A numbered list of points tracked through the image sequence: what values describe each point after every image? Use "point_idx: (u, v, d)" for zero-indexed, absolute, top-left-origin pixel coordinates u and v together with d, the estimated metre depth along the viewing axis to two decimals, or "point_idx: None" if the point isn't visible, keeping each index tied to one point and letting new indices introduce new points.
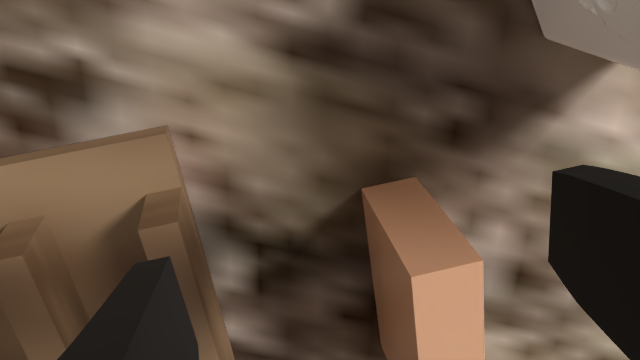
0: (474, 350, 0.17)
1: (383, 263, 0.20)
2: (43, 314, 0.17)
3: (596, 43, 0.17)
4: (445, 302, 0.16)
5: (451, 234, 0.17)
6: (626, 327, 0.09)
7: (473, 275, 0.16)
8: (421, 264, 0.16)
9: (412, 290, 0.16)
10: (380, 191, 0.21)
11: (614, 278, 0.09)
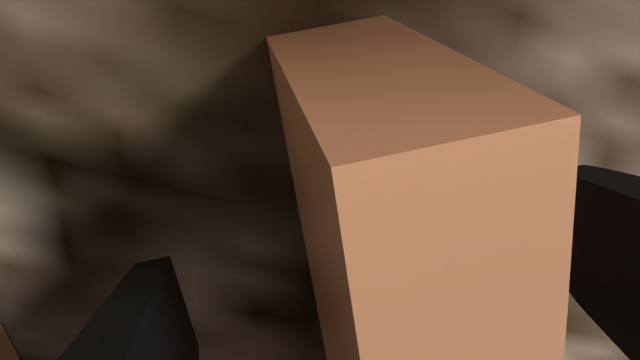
0: None
1: (302, 187, 0.08)
2: None
3: None
4: (449, 263, 0.05)
5: (467, 74, 0.06)
6: (626, 327, 0.09)
7: (545, 173, 0.05)
8: (371, 135, 0.05)
9: (338, 219, 0.05)
10: (304, 36, 0.09)
11: (614, 278, 0.09)
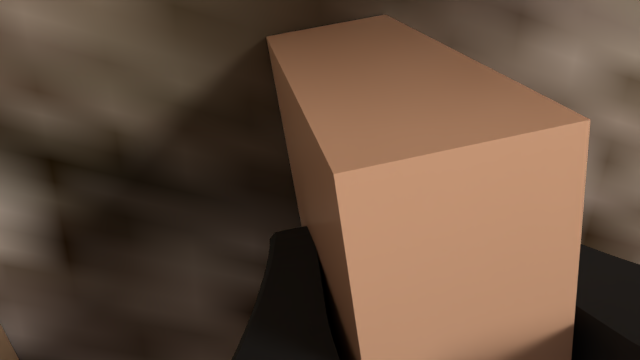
0: None
1: (303, 190, 0.08)
2: None
3: None
4: (456, 271, 0.05)
5: (472, 77, 0.06)
6: None
7: (552, 178, 0.05)
8: (376, 141, 0.05)
9: (340, 226, 0.05)
10: (305, 36, 0.09)
11: None
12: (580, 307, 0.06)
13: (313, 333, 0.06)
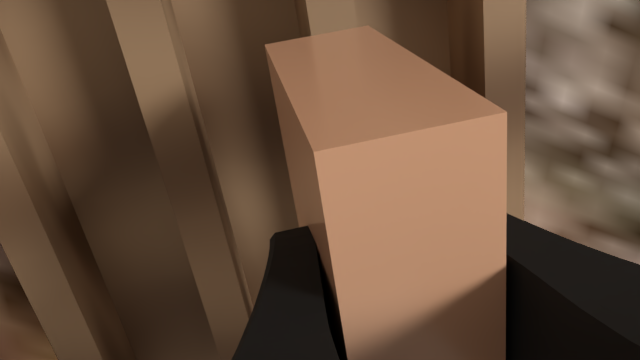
0: (482, 351, 0.08)
1: (296, 175, 0.10)
2: None
3: None
4: (408, 229, 0.06)
5: (427, 80, 0.07)
6: None
7: (481, 157, 0.06)
8: (346, 128, 0.06)
9: (320, 192, 0.06)
10: (298, 44, 0.11)
11: None
12: (580, 307, 0.06)
13: (312, 333, 0.06)
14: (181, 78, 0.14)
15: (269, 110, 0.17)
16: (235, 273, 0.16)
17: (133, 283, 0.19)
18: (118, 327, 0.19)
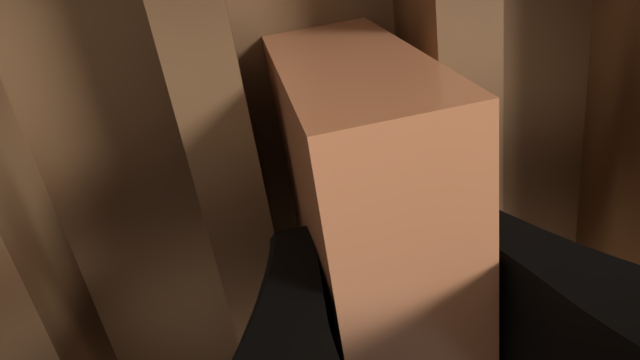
0: (476, 337, 0.08)
1: (292, 165, 0.10)
2: None
3: None
4: (402, 214, 0.07)
5: (422, 68, 0.08)
6: None
7: (473, 142, 0.06)
8: (341, 113, 0.06)
9: (313, 177, 0.06)
10: (294, 36, 0.11)
11: None
12: (580, 307, 0.06)
13: (313, 333, 0.06)
14: (247, 113, 0.09)
15: None
16: None
17: None
18: None
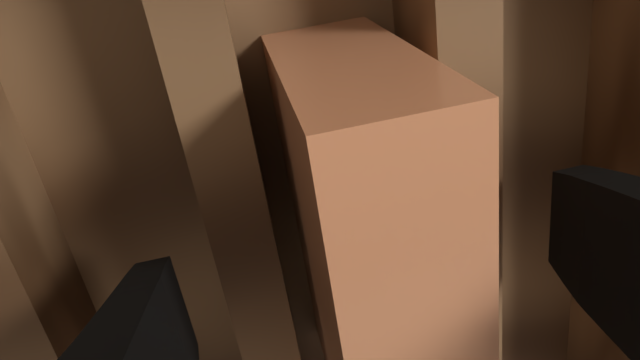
0: (475, 337, 0.08)
1: (291, 165, 0.10)
2: None
3: None
4: (401, 214, 0.06)
5: (421, 67, 0.08)
6: (626, 327, 0.09)
7: (473, 142, 0.06)
8: (339, 113, 0.06)
9: (312, 177, 0.06)
10: (294, 35, 0.11)
11: (614, 278, 0.09)
12: None
13: None
14: (246, 112, 0.09)
15: None
16: None
17: None
18: None
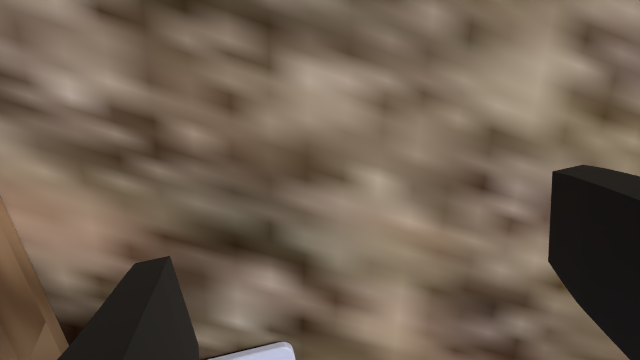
0: None
1: None
2: None
3: None
4: None
5: None
6: (626, 327, 0.09)
7: None
8: None
9: None
10: None
11: (614, 278, 0.09)
12: None
13: None
14: None
15: None
16: None
17: None
18: None
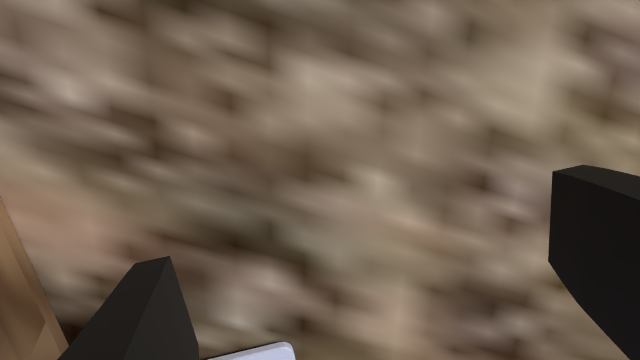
0: None
1: None
2: None
3: None
4: None
5: None
6: (626, 327, 0.09)
7: None
8: None
9: None
10: None
11: (614, 278, 0.09)
12: None
13: None
14: None
15: None
16: None
17: None
18: None
